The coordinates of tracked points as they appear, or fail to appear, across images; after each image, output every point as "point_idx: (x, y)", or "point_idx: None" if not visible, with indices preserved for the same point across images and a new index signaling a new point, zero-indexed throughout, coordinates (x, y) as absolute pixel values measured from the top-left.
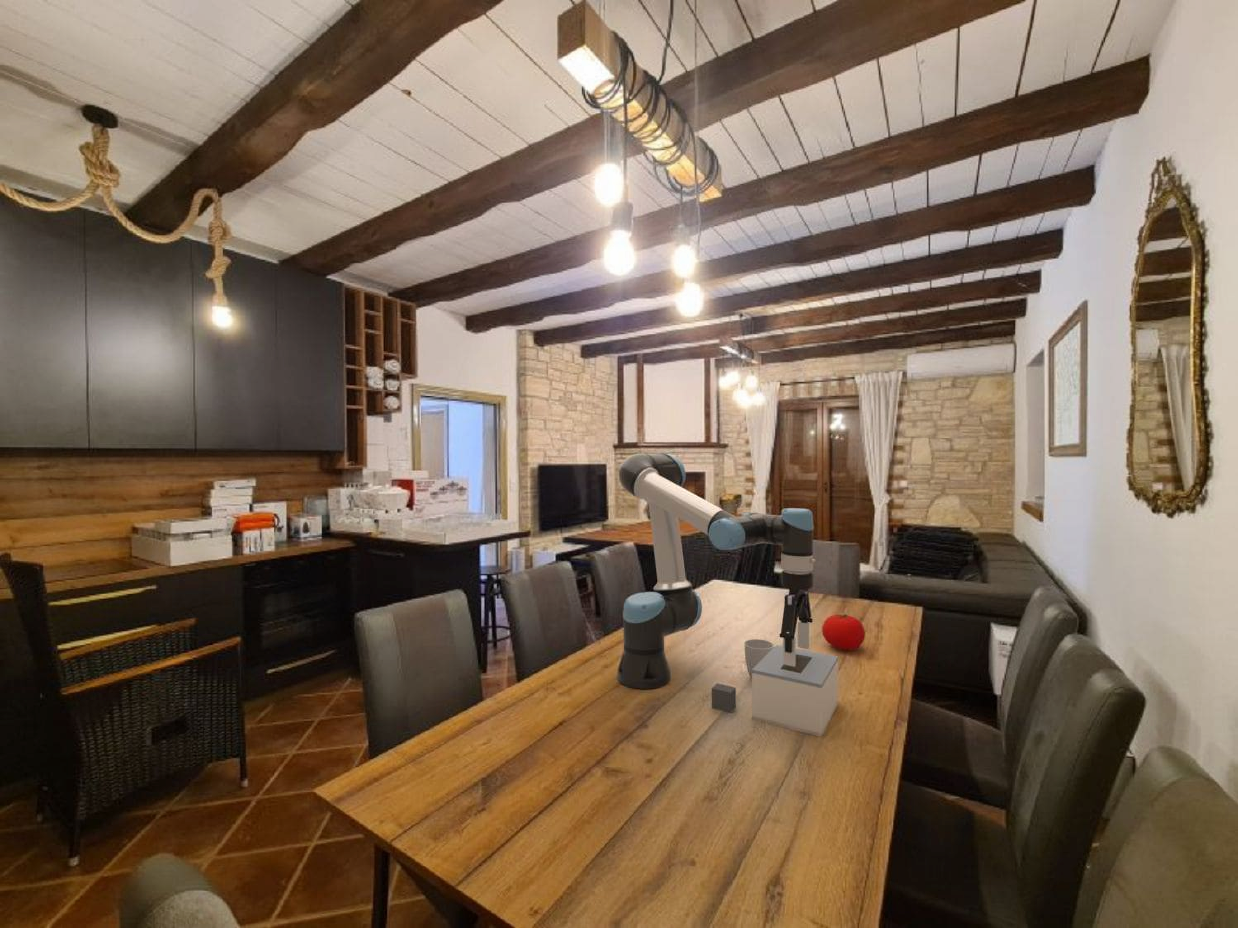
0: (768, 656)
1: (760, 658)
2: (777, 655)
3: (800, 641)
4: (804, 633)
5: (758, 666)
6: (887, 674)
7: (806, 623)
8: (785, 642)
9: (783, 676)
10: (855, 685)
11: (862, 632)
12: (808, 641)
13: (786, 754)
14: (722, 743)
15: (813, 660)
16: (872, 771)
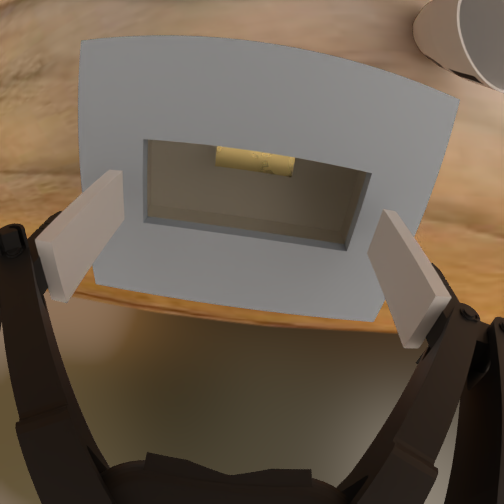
0: (286, 61)
1: (439, 33)
2: (320, 103)
3: (388, 237)
4: (395, 285)
5: (125, 48)
6: (483, 313)
7: (413, 338)
8: (28, 242)
9: (81, 169)
10: (441, 268)
11: None
12: (377, 275)
13: (51, 157)
14: (29, 39)
15: (310, 255)
16: (90, 282)
